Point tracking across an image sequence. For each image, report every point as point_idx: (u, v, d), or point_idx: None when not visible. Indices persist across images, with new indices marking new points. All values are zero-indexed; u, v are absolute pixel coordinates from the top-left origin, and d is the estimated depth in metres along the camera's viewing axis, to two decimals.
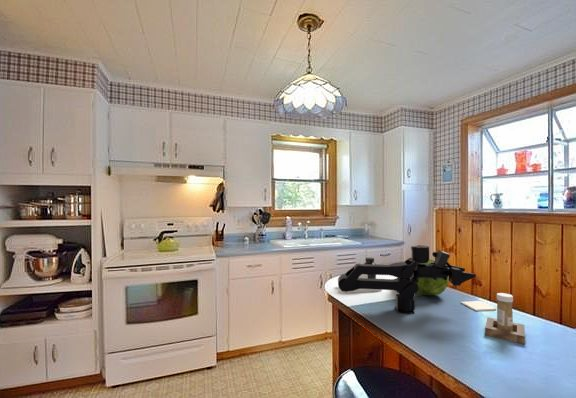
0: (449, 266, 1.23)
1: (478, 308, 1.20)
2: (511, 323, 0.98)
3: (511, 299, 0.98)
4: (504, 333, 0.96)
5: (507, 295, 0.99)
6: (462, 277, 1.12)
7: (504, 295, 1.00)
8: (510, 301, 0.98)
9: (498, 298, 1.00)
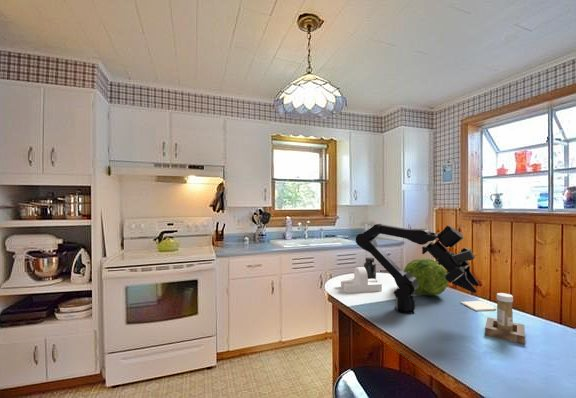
0: (467, 271, 1.11)
1: (478, 308, 1.20)
2: (511, 323, 0.98)
3: (511, 299, 0.98)
4: (504, 333, 0.96)
5: (507, 295, 0.99)
6: (461, 282, 1.03)
7: (504, 295, 1.00)
8: (510, 301, 0.98)
9: (498, 298, 1.00)
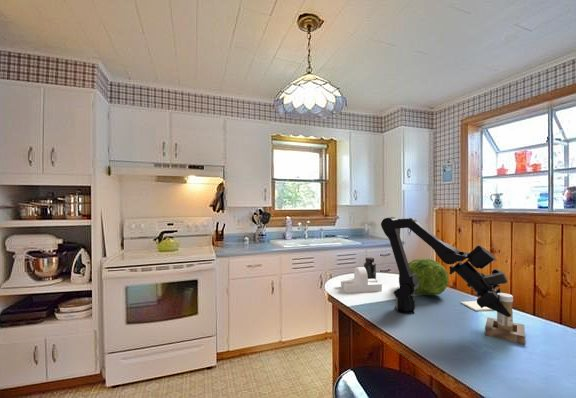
0: None
1: (478, 308, 1.20)
2: (511, 323, 0.98)
3: (511, 299, 0.98)
4: (504, 333, 0.96)
5: (507, 295, 0.99)
6: (494, 304, 0.99)
7: (504, 295, 1.00)
8: (510, 301, 0.98)
9: None
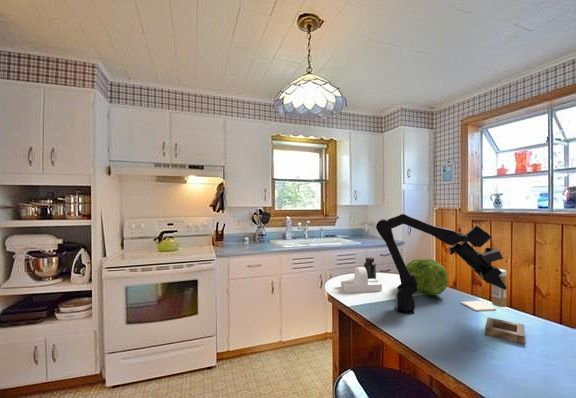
0: None
1: (478, 308, 1.20)
2: (505, 295, 1.08)
3: (506, 273, 1.08)
4: (504, 333, 0.96)
5: (501, 270, 1.09)
6: (493, 279, 1.07)
7: None
8: (505, 275, 1.07)
9: None
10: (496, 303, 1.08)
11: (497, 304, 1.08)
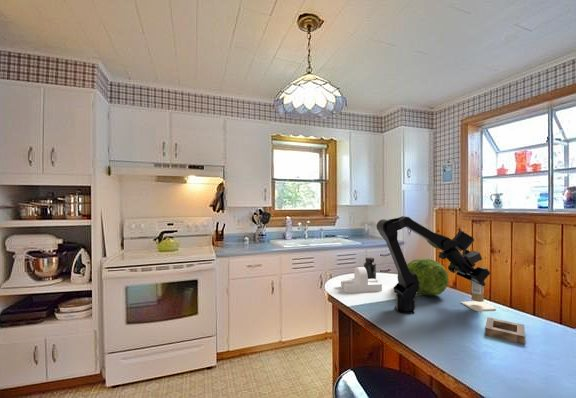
0: None
1: (478, 308, 1.20)
2: (483, 291, 1.23)
3: None
4: (504, 333, 0.96)
5: None
6: None
7: None
8: None
9: None
10: (477, 299, 1.23)
11: (478, 300, 1.23)
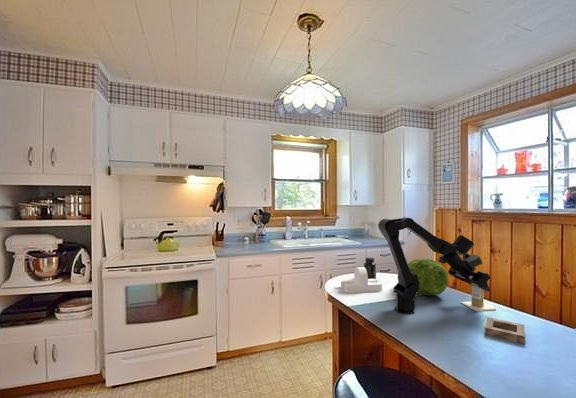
0: None
1: (478, 308, 1.20)
2: (483, 295, 1.23)
3: None
4: (504, 333, 0.96)
5: None
6: None
7: None
8: None
9: None
10: (477, 304, 1.23)
11: (478, 304, 1.23)
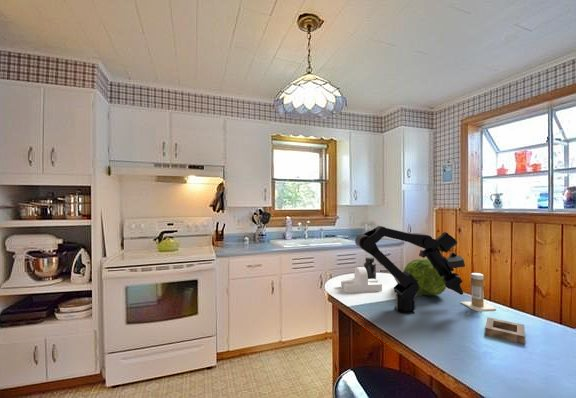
0: None
1: (478, 308, 1.20)
2: (483, 295, 1.23)
3: None
4: (504, 333, 0.96)
5: (479, 274, 1.24)
6: (454, 286, 1.17)
7: (478, 274, 1.24)
8: (483, 278, 1.23)
9: (476, 277, 1.23)
10: (477, 304, 1.23)
11: (478, 304, 1.23)
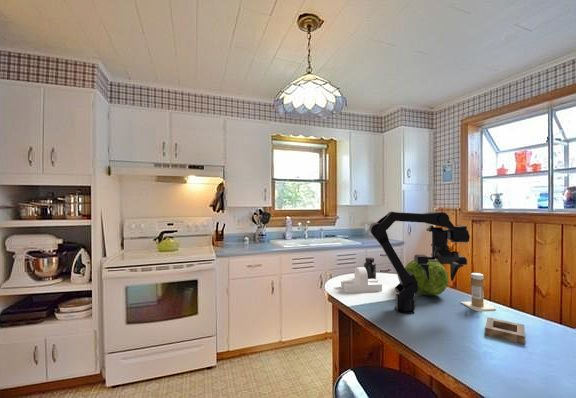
0: (454, 266, 1.17)
1: (478, 308, 1.20)
2: (483, 295, 1.23)
3: None
4: (504, 333, 0.96)
5: (479, 274, 1.24)
6: (424, 267, 1.21)
7: (478, 274, 1.24)
8: (483, 278, 1.23)
9: (476, 277, 1.23)
10: (477, 304, 1.23)
11: (478, 304, 1.23)
